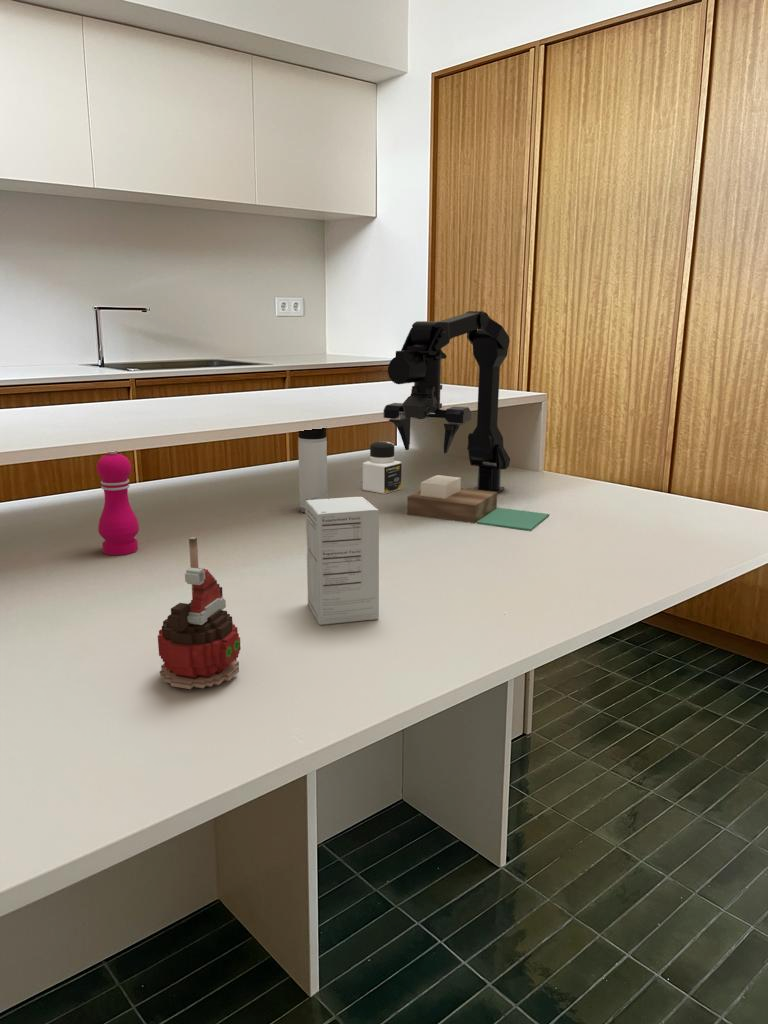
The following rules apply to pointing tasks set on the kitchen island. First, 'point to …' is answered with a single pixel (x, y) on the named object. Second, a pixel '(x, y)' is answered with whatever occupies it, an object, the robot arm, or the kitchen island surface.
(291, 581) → the kitchen island surface
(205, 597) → the cake
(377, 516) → the supplement box
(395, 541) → the kitchen island surface
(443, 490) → the block
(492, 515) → the mat
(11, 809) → the kitchen island surface
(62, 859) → the kitchen island surface
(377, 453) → the medicine bottle
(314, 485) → the travel mug
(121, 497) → the pepper mill
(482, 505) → the deck
